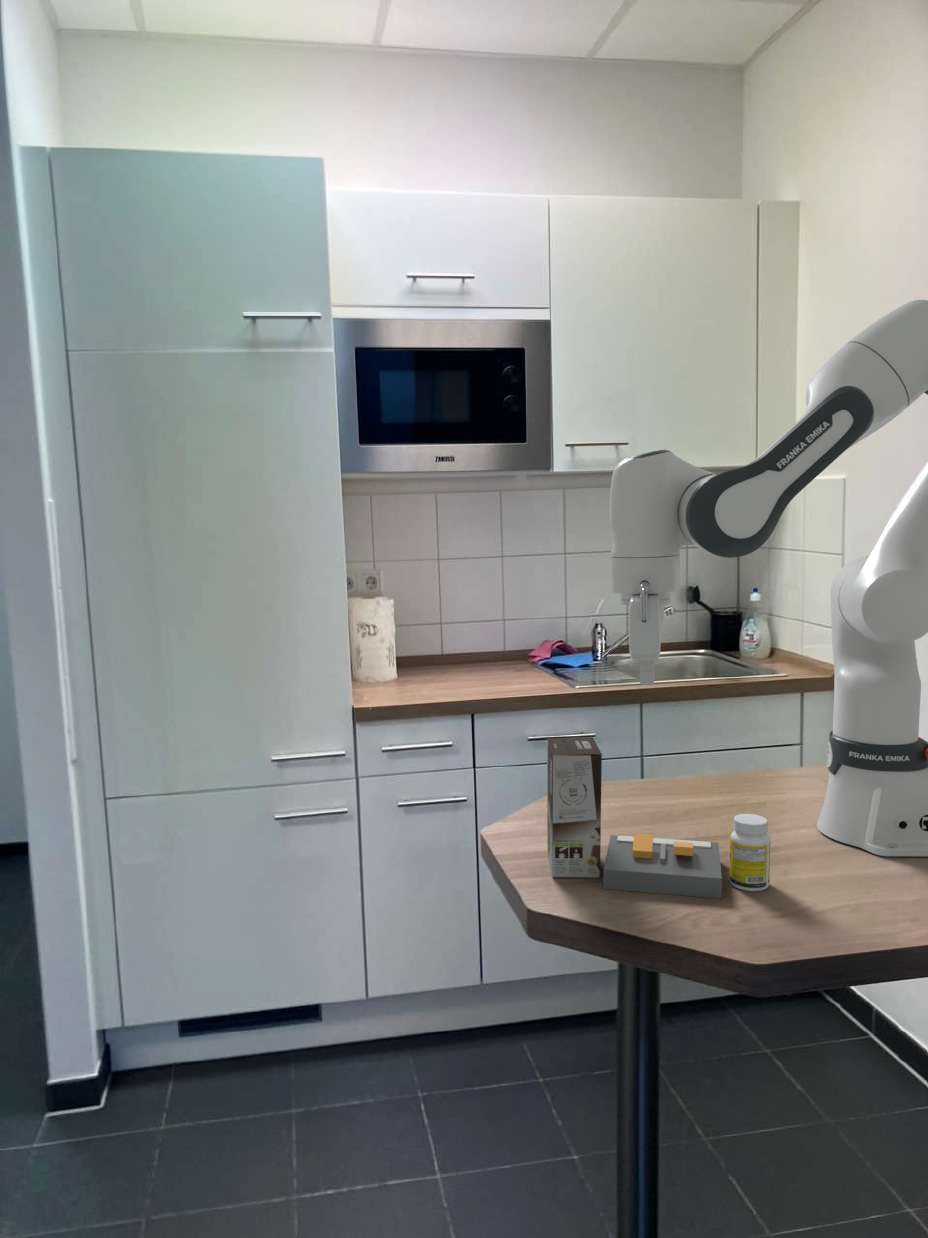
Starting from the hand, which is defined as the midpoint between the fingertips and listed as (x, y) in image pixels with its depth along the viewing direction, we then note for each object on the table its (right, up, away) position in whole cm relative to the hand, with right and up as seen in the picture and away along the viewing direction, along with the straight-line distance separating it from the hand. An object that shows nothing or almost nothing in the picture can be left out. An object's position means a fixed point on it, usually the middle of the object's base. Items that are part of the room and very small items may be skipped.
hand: (647, 683), depth 122 cm
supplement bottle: (+11, -25, -7) cm, 28 cm away
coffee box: (-10, -24, 0) cm, 26 cm away
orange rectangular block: (+4, -21, -5) cm, 21 cm away
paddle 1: (-1, -21, -4) cm, 21 cm away
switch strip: (+1, -24, -4) cm, 24 cm away
